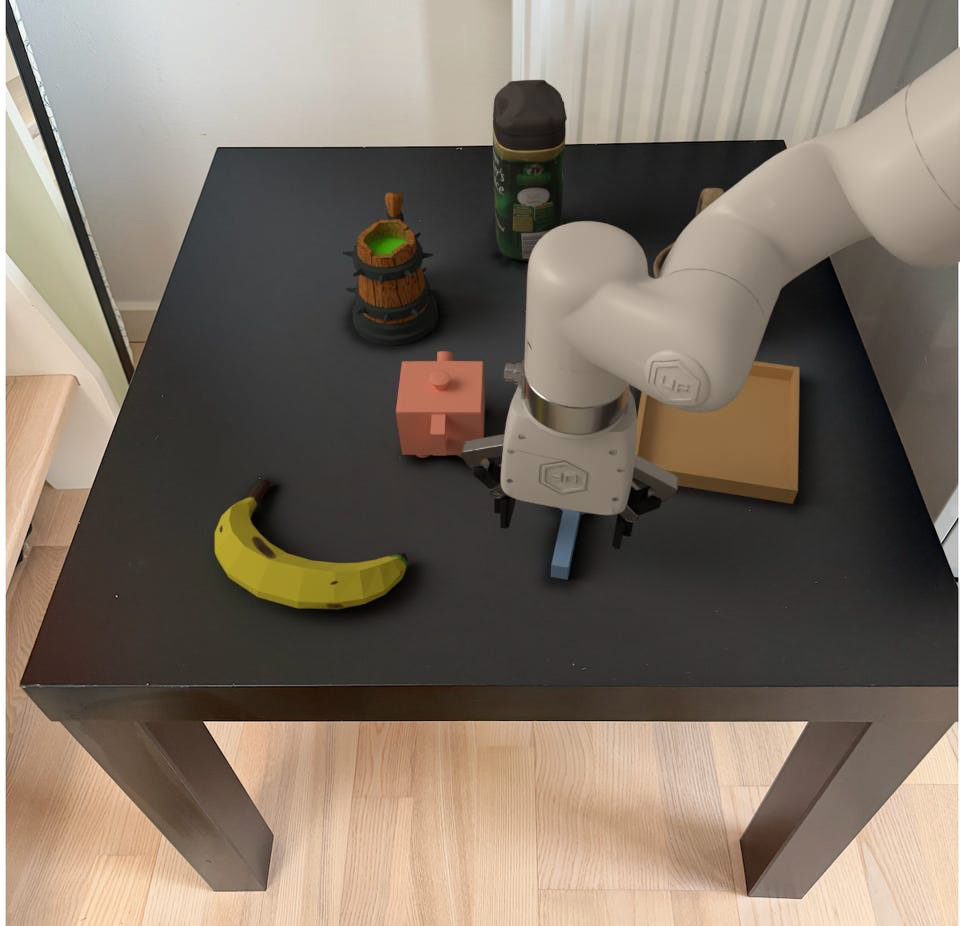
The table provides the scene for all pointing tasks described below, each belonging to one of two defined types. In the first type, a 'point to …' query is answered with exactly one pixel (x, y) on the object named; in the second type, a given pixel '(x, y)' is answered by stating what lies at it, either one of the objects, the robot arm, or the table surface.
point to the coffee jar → (527, 164)
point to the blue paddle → (565, 543)
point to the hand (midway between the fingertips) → (562, 525)
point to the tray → (731, 438)
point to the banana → (296, 566)
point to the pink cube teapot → (440, 405)
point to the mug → (391, 281)
